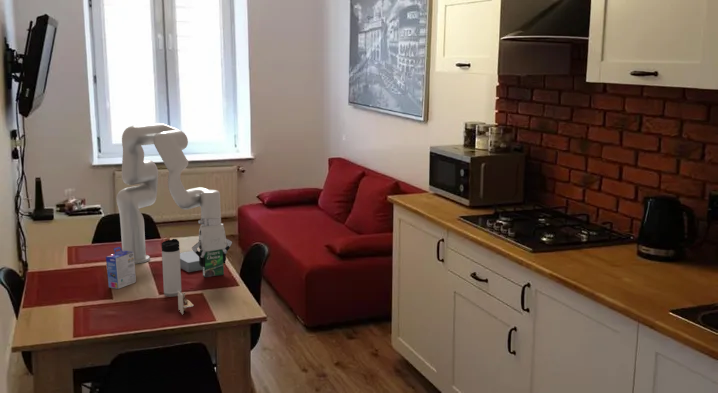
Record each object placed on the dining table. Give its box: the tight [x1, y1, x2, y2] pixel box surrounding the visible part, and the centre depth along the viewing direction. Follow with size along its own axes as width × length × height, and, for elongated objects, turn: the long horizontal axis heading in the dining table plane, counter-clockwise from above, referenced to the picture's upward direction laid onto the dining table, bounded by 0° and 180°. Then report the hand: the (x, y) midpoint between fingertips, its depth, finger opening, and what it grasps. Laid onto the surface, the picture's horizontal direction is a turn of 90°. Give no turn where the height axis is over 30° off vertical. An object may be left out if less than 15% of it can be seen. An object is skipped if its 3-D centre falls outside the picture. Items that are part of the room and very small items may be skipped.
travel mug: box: [161, 238, 183, 298], centre depth 264 cm, size 6×7×20 cm
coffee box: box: [202, 249, 225, 278], centre depth 287 cm, size 8×3×13 cm, turn 116°
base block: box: [180, 250, 203, 273], centre depth 302 cm, size 11×16×4 cm
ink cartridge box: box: [105, 246, 137, 290], centre depth 275 cm, size 10×6×14 cm, turn 155°
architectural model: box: [177, 291, 194, 315], centre depth 247 cm, size 3×7×7 cm, turn 29°
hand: (212, 264), depth 288 cm, fingers closed on coffee box, 8 cm apart
